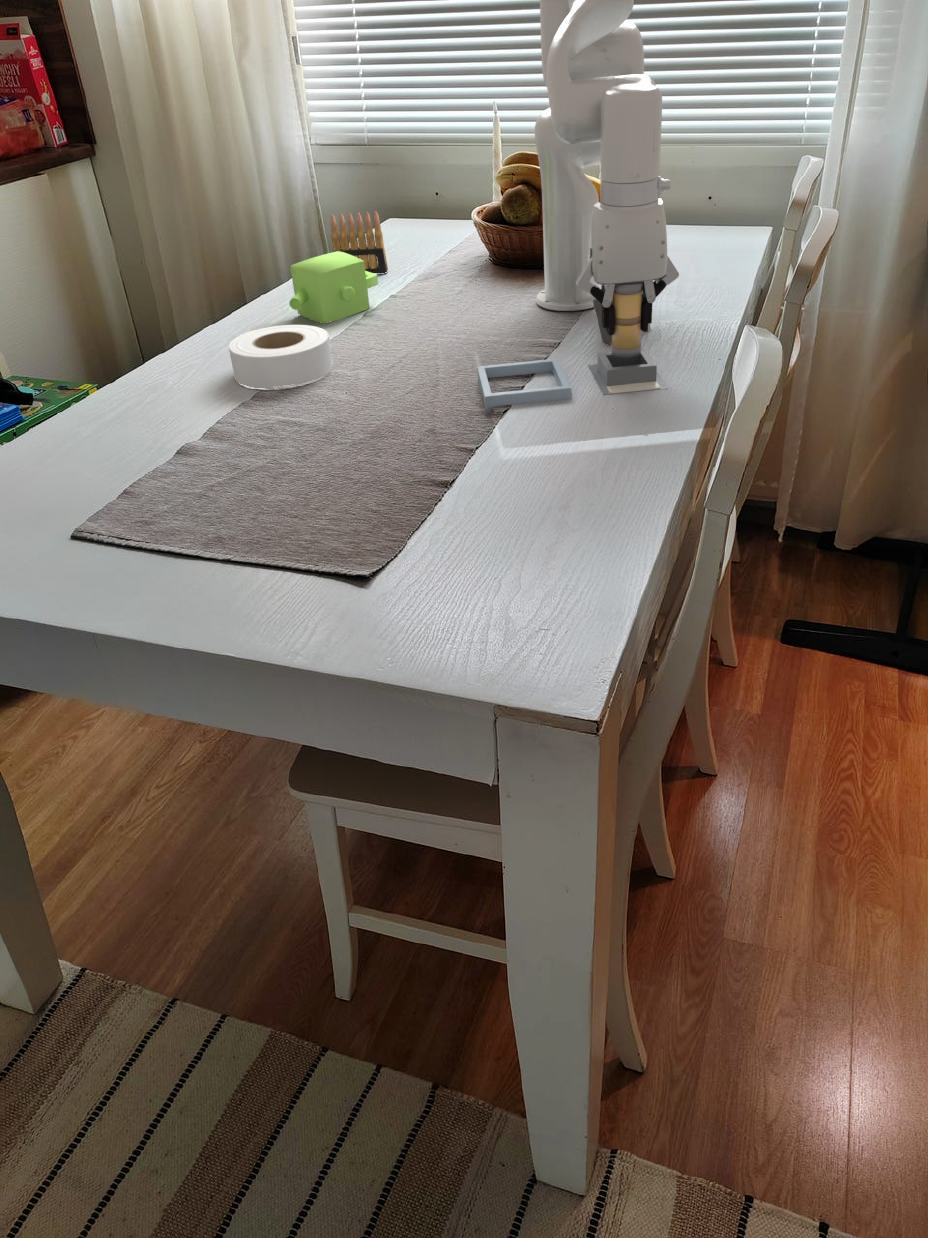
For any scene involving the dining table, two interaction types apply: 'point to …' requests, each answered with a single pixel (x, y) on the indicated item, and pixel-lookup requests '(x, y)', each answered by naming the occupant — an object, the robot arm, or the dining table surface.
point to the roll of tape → (281, 355)
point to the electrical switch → (604, 334)
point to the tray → (522, 395)
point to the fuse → (627, 320)
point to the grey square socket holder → (626, 374)
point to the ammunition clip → (361, 241)
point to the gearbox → (331, 286)
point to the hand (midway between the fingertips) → (626, 329)
